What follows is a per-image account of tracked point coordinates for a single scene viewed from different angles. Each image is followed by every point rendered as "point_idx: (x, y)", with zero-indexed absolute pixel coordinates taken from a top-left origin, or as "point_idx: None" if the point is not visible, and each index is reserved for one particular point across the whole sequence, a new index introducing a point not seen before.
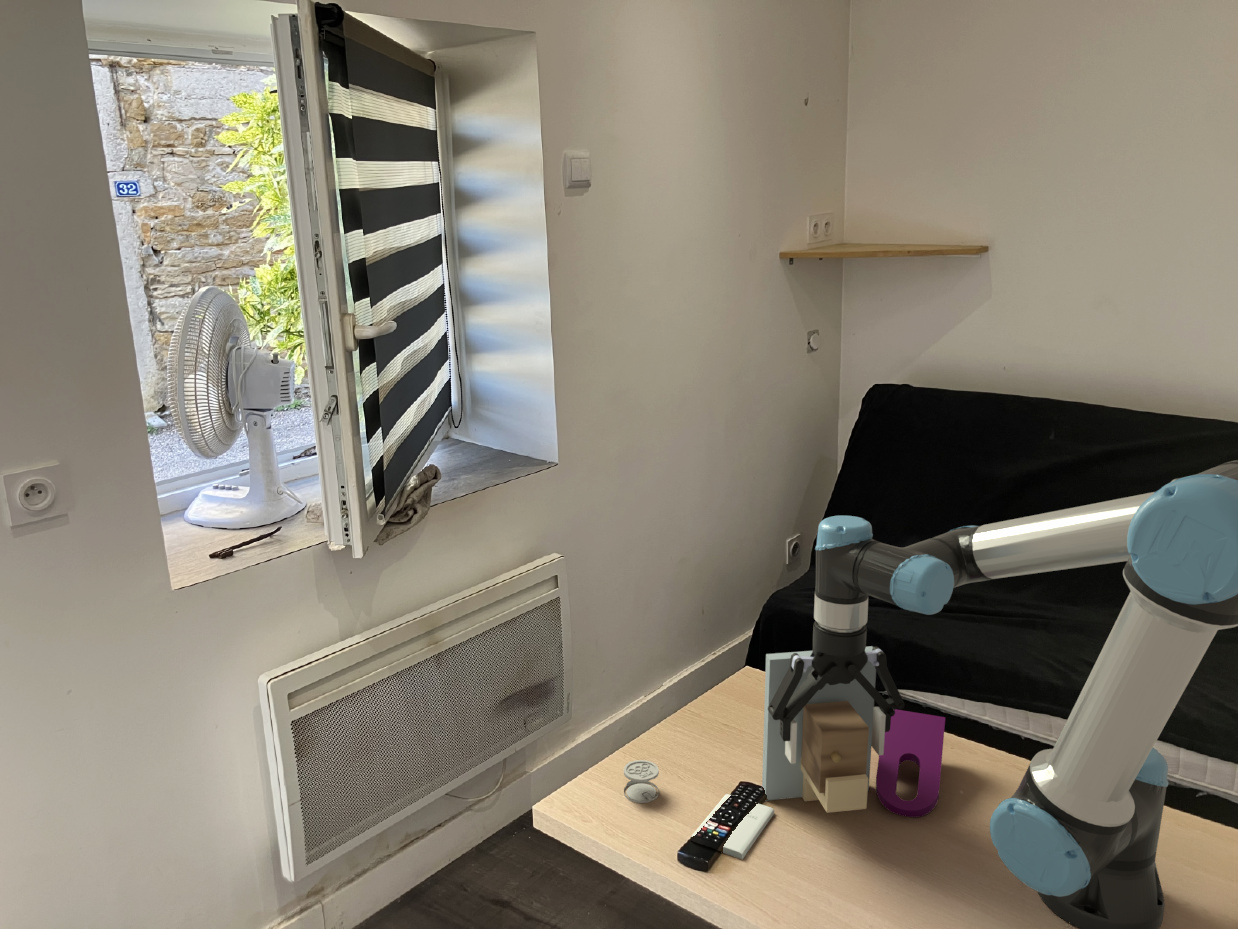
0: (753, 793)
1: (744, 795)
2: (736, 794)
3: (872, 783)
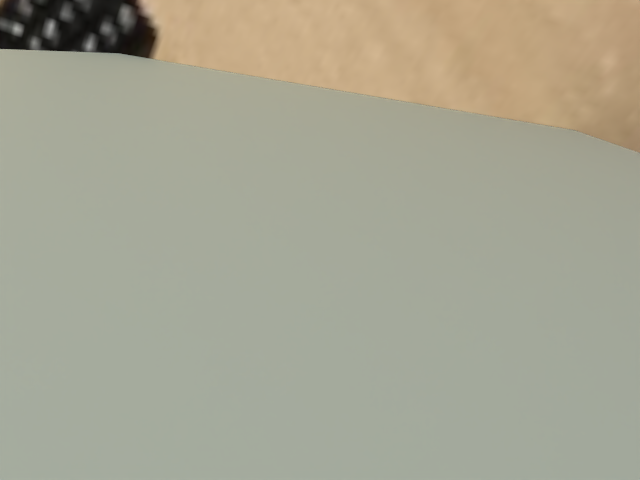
0: (87, 40)
1: (47, 42)
2: (17, 24)
3: (613, 140)
